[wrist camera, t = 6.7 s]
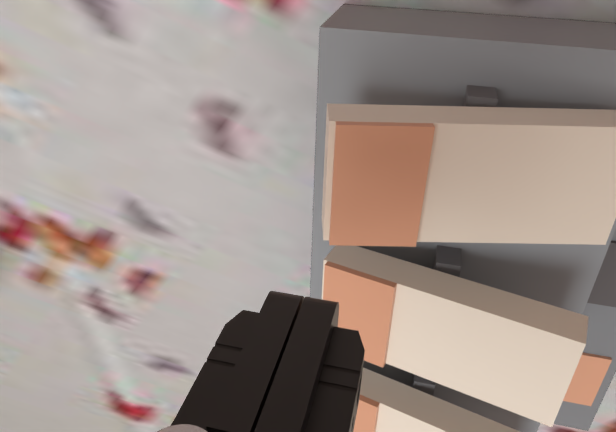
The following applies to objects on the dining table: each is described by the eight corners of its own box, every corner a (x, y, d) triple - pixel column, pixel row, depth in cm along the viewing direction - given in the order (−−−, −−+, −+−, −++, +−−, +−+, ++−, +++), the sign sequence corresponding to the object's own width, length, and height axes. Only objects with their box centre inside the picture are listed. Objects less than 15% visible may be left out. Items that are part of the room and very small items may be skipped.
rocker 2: (588, 316, 19) (585, 349, 18) (556, 397, 22) (551, 433, 20) (339, 240, 23) (320, 263, 22) (334, 316, 25) (316, 341, 24)
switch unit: (750, 32, 21) (852, 78, 15) (582, 409, 32) (608, 510, 27) (343, 4, 23) (311, 34, 18) (323, 359, 35) (299, 440, 30)
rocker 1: (623, 109, 18) (656, 131, 16) (584, 221, 20) (609, 249, 19) (326, 103, 18) (329, 124, 16) (321, 216, 20) (323, 245, 18)
